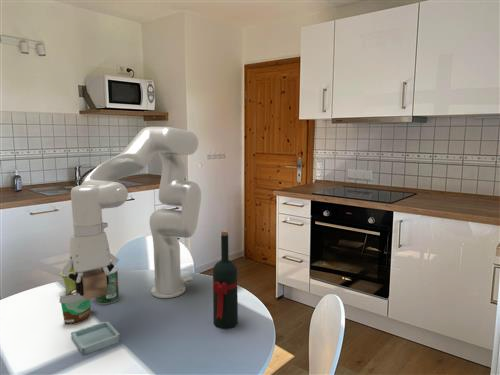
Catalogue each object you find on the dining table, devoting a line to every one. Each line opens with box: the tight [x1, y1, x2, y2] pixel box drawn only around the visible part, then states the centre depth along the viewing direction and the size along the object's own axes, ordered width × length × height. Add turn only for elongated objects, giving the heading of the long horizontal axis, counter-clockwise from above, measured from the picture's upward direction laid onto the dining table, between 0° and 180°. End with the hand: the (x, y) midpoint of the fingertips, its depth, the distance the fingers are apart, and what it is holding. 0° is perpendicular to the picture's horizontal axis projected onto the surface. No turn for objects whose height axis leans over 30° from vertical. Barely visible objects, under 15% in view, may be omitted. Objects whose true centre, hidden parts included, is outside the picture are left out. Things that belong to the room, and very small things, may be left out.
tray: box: [70, 320, 122, 356], centre depth 111 cm, size 11×11×2 cm
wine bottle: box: [212, 229, 239, 330], centre depth 118 cm, size 8×10×30 cm
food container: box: [58, 288, 92, 325], centre depth 123 cm, size 12×6×10 cm, turn 168°
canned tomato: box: [95, 266, 120, 305], centre depth 136 cm, size 8×8×11 cm
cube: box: [81, 268, 108, 300], centre depth 108 cm, size 6×6×6 cm
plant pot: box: [60, 268, 76, 295], centre depth 142 cm, size 9×9×9 cm
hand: (92, 290), depth 109 cm, fingers closed on cube, 6 cm apart
